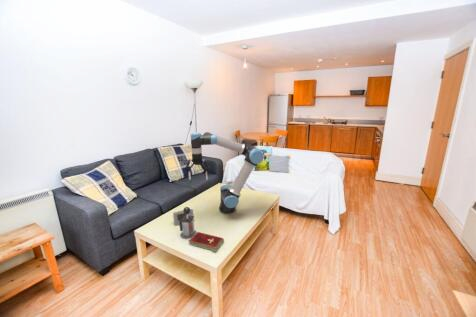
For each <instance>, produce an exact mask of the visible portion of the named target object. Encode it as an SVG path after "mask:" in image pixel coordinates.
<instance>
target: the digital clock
mask: <svg viewBox="0 0 476 317" xmlns="http://www.w3.org/2000/svg"><path fill="white" fill-rule="evenodd" d="M194 215H195V214H194V209H192V208H190V213H189V214H188V216H194ZM184 216H186V214H185V213H184V212H183V209H181V210H178V211H174V212H173V213H172V218H173V224H174V226H175V227H177V226H180V223H179V221H180V220H182V218H183V217H184ZM193 221H194V222H195V216H194V218H193Z"/></svg>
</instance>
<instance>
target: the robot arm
mask: <svg viewBox="0 0 476 317" xmlns="http://www.w3.org/2000/svg"><path fill="white" fill-rule="evenodd" d="M209 145H212V146H213V145H216V146H219V147H221V148H224V149H227V150H231V151H233V152H236V153H239V155H241V156H244V157H245V158H244V159H243V161H244V162H243V165H242V167H241V168H240V170H239V172H238V174H237V176H236V177H235V179H234V181H233V183H232V184H224V185H221V186H220V189H219V190H220V203H219V207H218V210H219V212H221V214H231V213H234V212H236V210H237V209H236V208H237V206H238V204H239V199H240V197H241V191H242V189H243V188H244V186H245V184H246V182H247V180H248V179H249V177H250V175H251V173H252V171H253V170H254V169H255V168H257V167H258V164H261V163H262V162H263V160H264V152H263V151H262V150H261V149H259V148H257V147H256V146H254V145H250V144H246V143H240V142H236V141H233V140H231V139H228V138H226V137H222V136H220V135H217V134H213V133H211V132H208V131H205V132H204V133H203V134H201V132H192V133H191V134H190V146H191V158H188V160H187V164H186V166H185V168H184V171H185V172H187V176H188V179H189V181H190V180H191V179H192V177H191V175H192V174H191V169H192V168H193V167H194V165H195V166H201V167H202V168H203V169H204V170H205V178H206V179H205V180H206V181H207V180H209V175H210V171H212V168H211V166H210V165H209V163H208V161H207V158H204V159H203V153H202V152H203V149H202V146H209ZM191 162H192V164H191ZM203 162H204V163H203ZM190 164H191V165H190ZM189 166H190V167H189Z"/></svg>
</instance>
